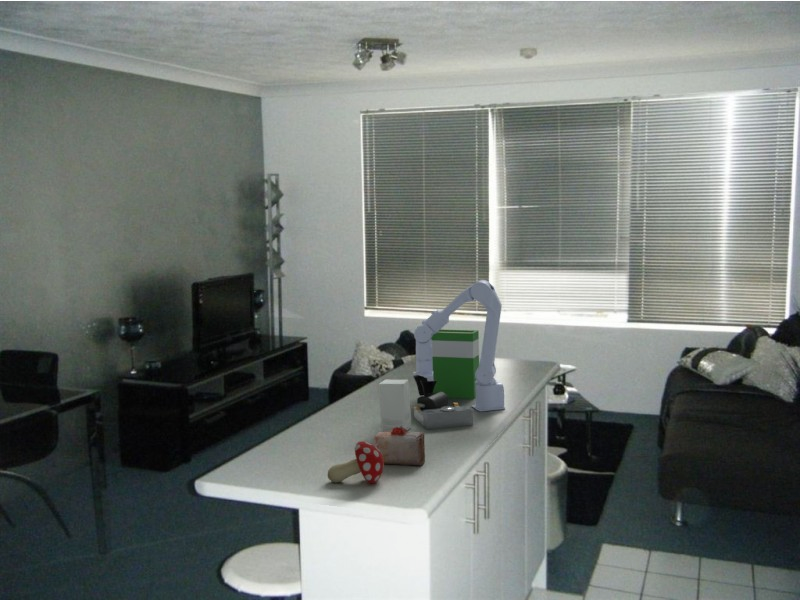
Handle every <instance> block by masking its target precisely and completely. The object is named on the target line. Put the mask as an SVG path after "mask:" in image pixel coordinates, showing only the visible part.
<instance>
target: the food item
mask: <svg viewBox="0 0 800 600" xmlns="http://www.w3.org/2000/svg"><path fill="white" fill-rule="evenodd" d="M374 442H375V447H376V448H377V449H378V450H379V451H380V452H381V454H382V456H383V460H384V465H397V466H398V465H402V466H403V465H405V466H422V465H424V463H425V461H426V453H425V448H426V447H425V433H424V432H419V431H416V432H415V431H408V430H406V429H404V428H403V427H402V425H401V426H400V427H399V428H398V427H396V428H393V429H392V432H388V431H379V432H378V433H376V435H375V436H374Z"/></svg>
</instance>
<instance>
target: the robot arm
mask: <svg viewBox="0 0 800 600" xmlns="http://www.w3.org/2000/svg"><path fill="white" fill-rule="evenodd" d="M474 300H476V301H477V302H479V303H481V304H482V306H483V307H484V308H485V309H486V317H485V325H484V332H483V338H482V347H481V353H480V357H479V367H478V369H477V370H476V372H475V378H476V380H477V381H475V392H476V398H475V404H471V407H472V408H474V409H475V410H476V411H478V412H488V411H489V412H490V411H497V410H499V411H500V410H505V409H506V407H505V388H504V385H503V383H502V382H501V381H497V380H496V378H495V376H496V373H497V370H496V369H497V368H496V365H495V361H496V360H495V359H496V357H495V356H496V350H497V349H496V348H497V342H498V335H499V327H500V321H501V314H502V308H503V307H502V302H501V300H500V298H499V296H498V293H497V292H496V289H495V287H494V286H493V285H492V284H491V283H490V282H489V281H488V280H487V279H486V280H485V279H479V280H477V281H475V282H474V283H473V284H472V285H470V286H468V287H467V288H465V289H464V290H462V291H461V292H460V293H459V294H458V295H456V297H455V298H454V299H453V300H452V301H451V302H450V303H449V304H447V305H446V307H445V308H443V309H437V310H433V311H432V312H431V315H430V316H429V317H428V318H426V319H425V320H422V321H421V324H420V325H419V326H417V327H416V329H415V330H414V332H413V336H414V339H415V362H416V363H415V366H416V371H413V372H412V374H413V376H412V377H413V379H414V381H415V384H416V386H417V387H416V388H417V390H418V395H419V397H421V396H426V394H428V393H433V390H434V387H435V384H436V383H437V380H433V359H432V339H431V338H432V336H433V334H436V333H437V332H438V331H439V330H440V329H443V328H444V327H445V326H446V325H447V324H448V323H449V322H450V316H451V315H453V314H454V312H456V311H457V310H458V309H459V308H460V307H462V306H463V305H465V303H469V302H473V301H474ZM426 397H430V396H426Z"/></svg>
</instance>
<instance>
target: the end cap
mask: <svg viewBox="0 0 800 600" xmlns="http://www.w3.org/2000/svg"><path fill="white" fill-rule="evenodd" d="M426 396H430V397H426ZM426 396H424V395H423V396H419V397H417V399H416V401H417V404H421V405H424V407H421V406H419V407H420V410H421V411H422V412H423V410H431V409H441V407H445V406H450V405H449V403H450V399H449V398H450V397H448V396H447V395H446V394H445V393H444V392H439V393H428V394H426Z"/></svg>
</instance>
